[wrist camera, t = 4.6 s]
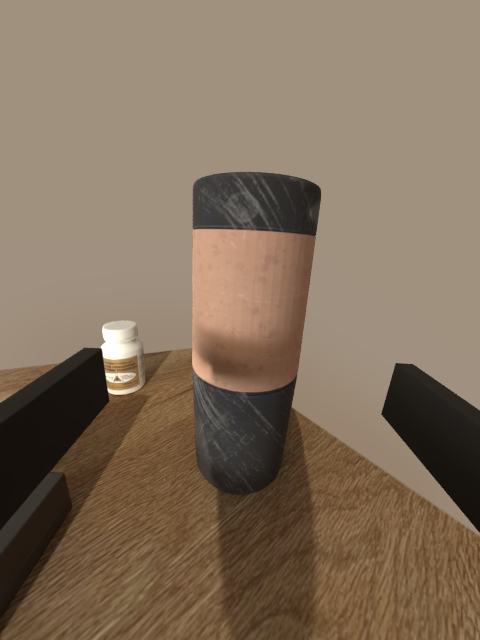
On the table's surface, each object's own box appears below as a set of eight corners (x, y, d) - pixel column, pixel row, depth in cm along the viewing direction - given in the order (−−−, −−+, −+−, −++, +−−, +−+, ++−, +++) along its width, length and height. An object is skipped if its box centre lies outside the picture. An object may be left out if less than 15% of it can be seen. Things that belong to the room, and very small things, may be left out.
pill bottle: (99, 397, 26) (89, 332, 24) (113, 376, 30) (105, 318, 28) (141, 395, 27) (136, 331, 24) (149, 374, 31) (145, 318, 28)
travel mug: (301, 487, 17) (355, 183, 11) (196, 510, 16) (195, 160, 9) (265, 416, 24) (287, 205, 18) (190, 426, 23) (188, 195, 16)
